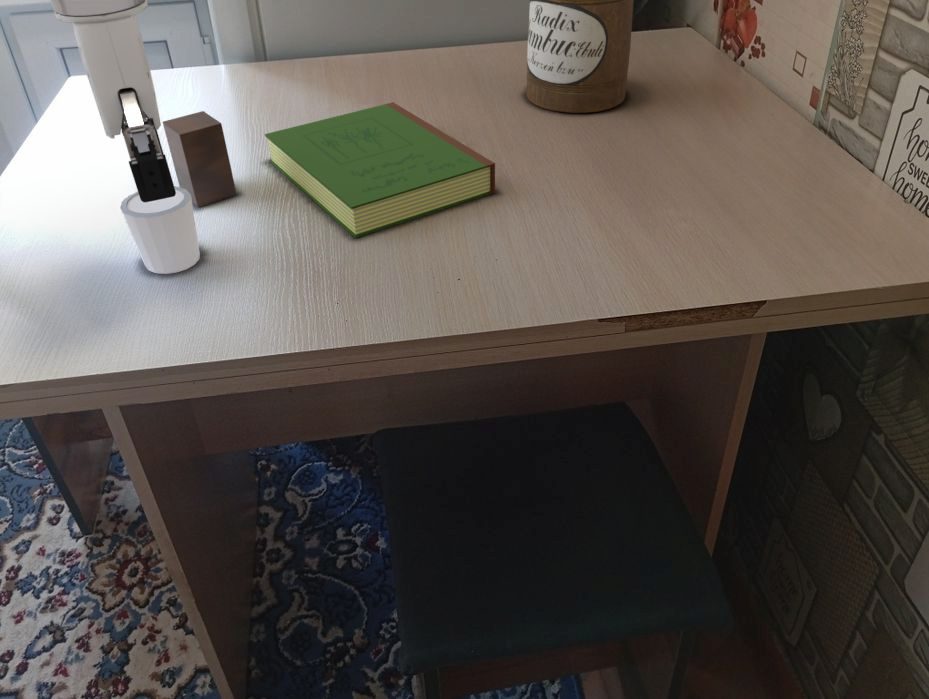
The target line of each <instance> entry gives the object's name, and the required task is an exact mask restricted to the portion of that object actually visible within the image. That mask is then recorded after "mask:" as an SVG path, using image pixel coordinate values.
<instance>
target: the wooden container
mask: <svg viewBox="0 0 929 699" xmlns="http://www.w3.org/2000/svg"><path fill="white" fill-rule="evenodd" d="M634 2H635V1H634V0H529V11H528V12H529V13H528V14H529V16H528V29H527V30H528V33H527V53H526V54H527V56H526V98H527V100H529V101H530V102H531V103H532V104H533V105H536V106H538V107H539V108H542V109H545V110H549V111H552V112H559V113H567V114H585V113H598V112H603V111H607V110H609V109H612V108H615V107H617V106H618V105H621V103H623V102H624V100H625V98H626V91H627V82H628V73H629V67H630V66H629V64H630V54H631V45H632V44H631V42H632V28H633V15H634V14H633V13H634Z"/></svg>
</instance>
